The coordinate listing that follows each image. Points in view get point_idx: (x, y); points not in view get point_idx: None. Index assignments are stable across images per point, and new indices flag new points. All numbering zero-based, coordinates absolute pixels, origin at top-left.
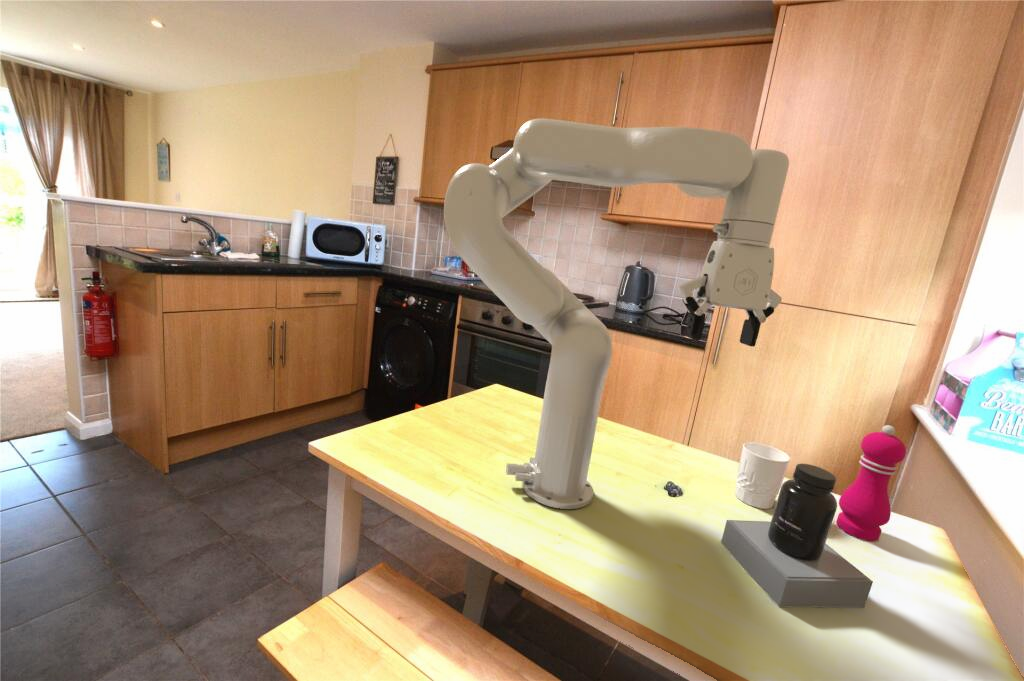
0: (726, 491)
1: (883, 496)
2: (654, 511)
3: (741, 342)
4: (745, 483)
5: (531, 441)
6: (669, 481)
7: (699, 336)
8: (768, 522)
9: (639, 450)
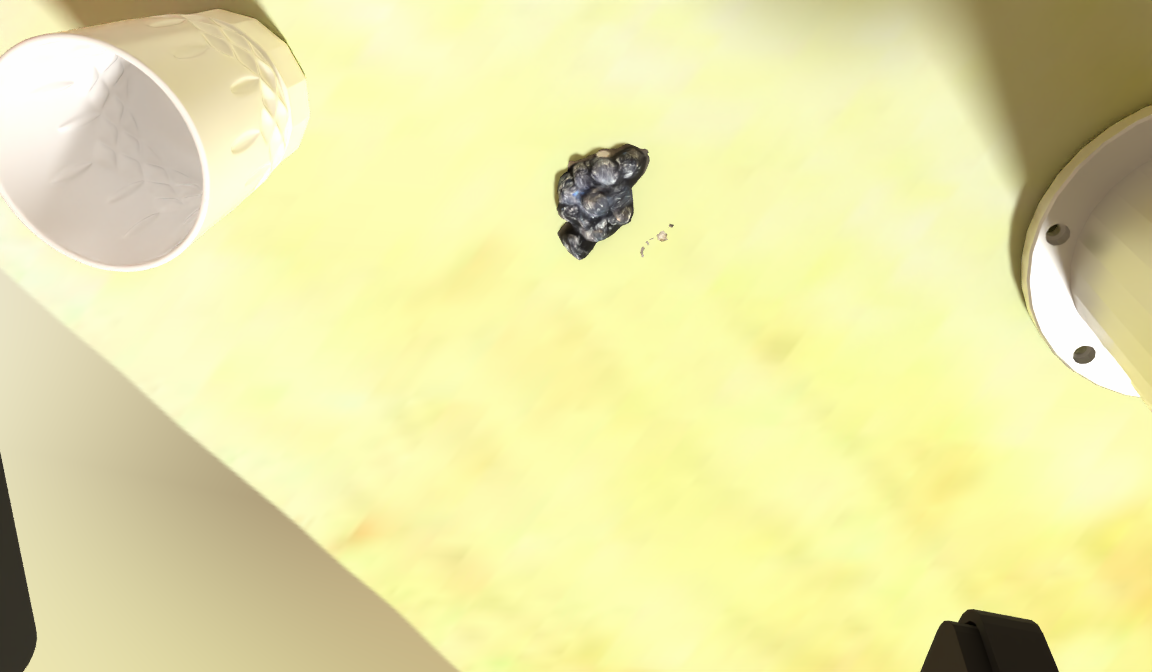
0: (328, 166)
1: None
2: (813, 42)
3: (30, 612)
4: (274, 101)
5: None
6: (579, 252)
7: (1020, 655)
8: None
9: (540, 514)
